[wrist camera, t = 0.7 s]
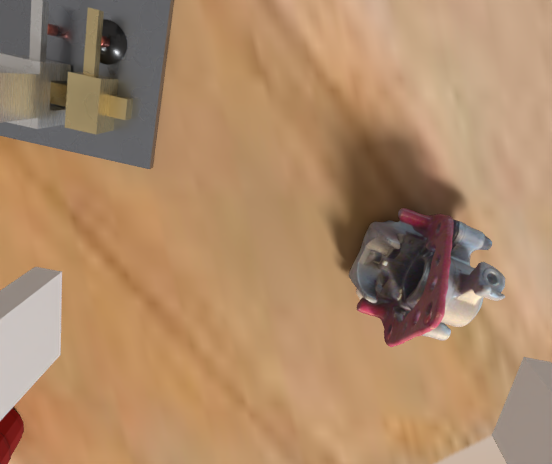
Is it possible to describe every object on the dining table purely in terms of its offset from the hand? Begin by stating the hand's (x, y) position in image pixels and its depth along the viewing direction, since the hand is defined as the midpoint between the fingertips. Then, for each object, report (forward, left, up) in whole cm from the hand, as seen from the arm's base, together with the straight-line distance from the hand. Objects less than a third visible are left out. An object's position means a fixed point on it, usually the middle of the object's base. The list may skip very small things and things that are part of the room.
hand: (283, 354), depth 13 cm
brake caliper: (+5, +11, -26) cm, 29 cm away
